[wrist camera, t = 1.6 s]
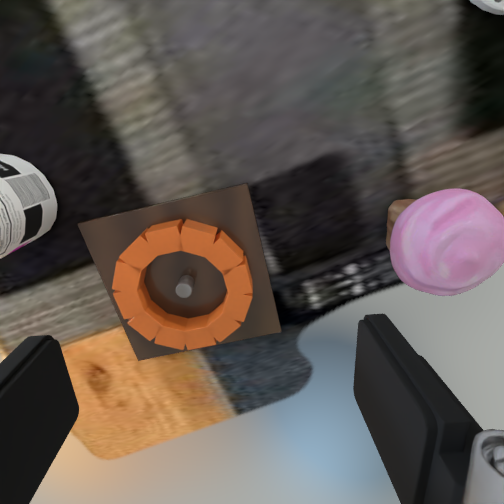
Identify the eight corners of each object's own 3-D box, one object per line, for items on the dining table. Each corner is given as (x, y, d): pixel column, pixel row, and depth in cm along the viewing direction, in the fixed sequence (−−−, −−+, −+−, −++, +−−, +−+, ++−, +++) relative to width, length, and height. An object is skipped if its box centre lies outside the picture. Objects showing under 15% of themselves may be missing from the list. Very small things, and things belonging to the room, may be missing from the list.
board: (247, 182, 31) (247, 188, 28) (281, 327, 37) (283, 343, 34) (80, 221, 32) (66, 230, 29) (140, 356, 38) (132, 373, 36)
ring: (233, 206, 31) (232, 213, 29) (262, 322, 36) (263, 335, 34) (101, 237, 32) (90, 245, 30) (147, 345, 37) (141, 359, 34)
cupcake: (364, 184, 31) (415, 209, 22) (455, 171, 31) (545, 191, 22) (365, 267, 34) (410, 319, 25) (447, 255, 34) (523, 305, 25)
